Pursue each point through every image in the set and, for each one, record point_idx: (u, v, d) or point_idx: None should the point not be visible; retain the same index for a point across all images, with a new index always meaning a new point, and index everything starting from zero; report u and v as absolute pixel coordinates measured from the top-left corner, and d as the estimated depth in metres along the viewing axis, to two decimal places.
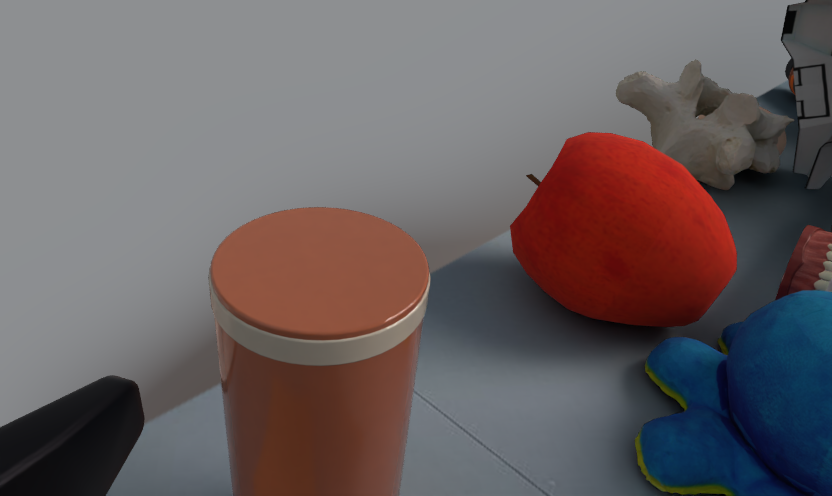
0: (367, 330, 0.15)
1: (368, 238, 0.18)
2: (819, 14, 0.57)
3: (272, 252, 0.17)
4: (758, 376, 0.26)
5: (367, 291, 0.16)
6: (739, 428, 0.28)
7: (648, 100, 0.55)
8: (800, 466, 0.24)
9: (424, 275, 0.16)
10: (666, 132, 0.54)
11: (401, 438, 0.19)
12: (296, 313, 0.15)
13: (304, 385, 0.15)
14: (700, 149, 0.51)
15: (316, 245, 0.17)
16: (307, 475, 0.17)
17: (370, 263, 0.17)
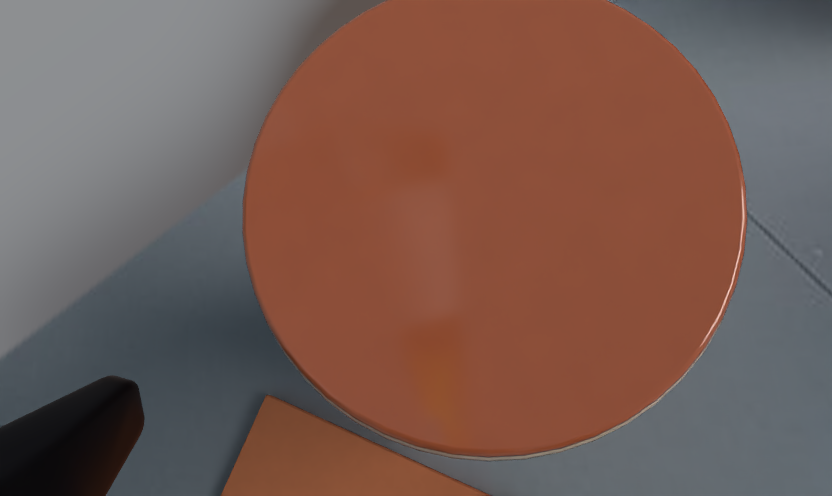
0: (589, 427, 0.07)
1: (593, 97, 0.07)
2: None
3: (368, 166, 0.07)
4: None
5: (590, 306, 0.07)
6: None
7: None
8: None
9: (735, 240, 0.07)
10: None
11: None
12: (428, 387, 0.07)
13: None
14: None
15: (467, 133, 0.07)
16: None
17: (598, 198, 0.07)
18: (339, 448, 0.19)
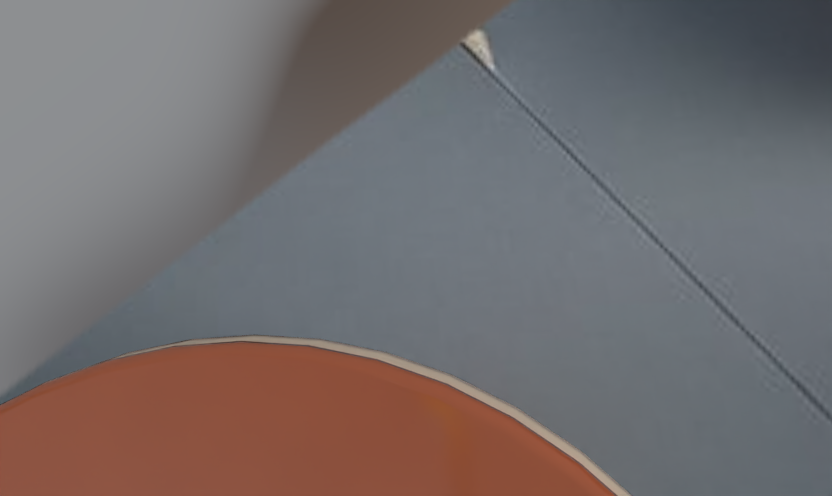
0: None
1: None
2: None
3: None
4: None
5: None
6: None
7: None
8: None
9: None
10: None
11: None
12: None
13: None
14: None
15: None
16: None
17: None
18: None
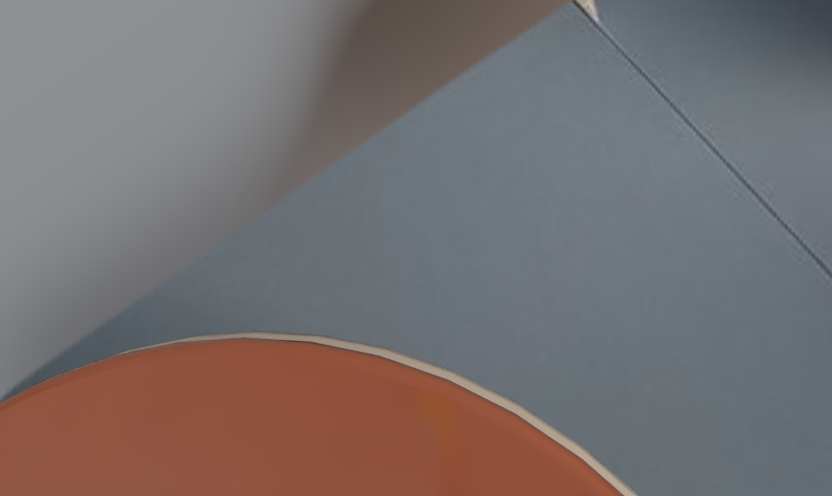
0: None
1: None
2: None
3: None
4: None
5: None
6: None
7: None
8: None
9: None
10: None
11: None
12: None
13: None
14: None
15: None
16: None
17: None
18: None
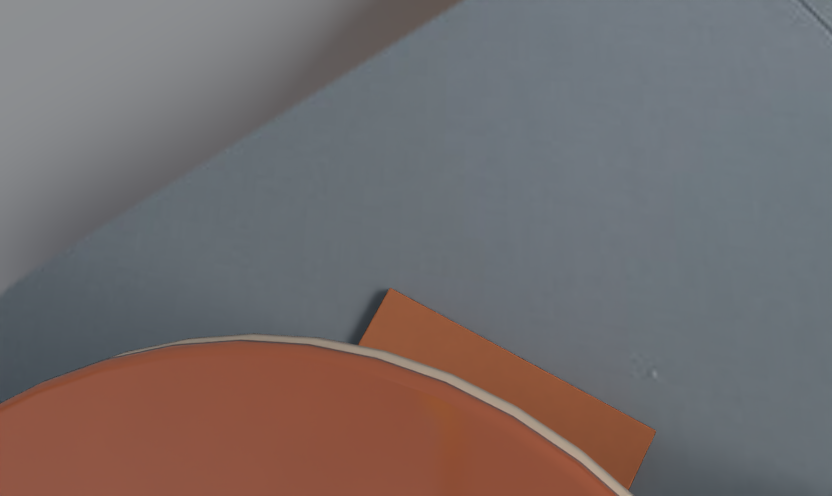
0: None
1: None
2: None
3: None
4: None
5: None
6: None
7: None
8: None
9: None
10: None
11: None
12: None
13: None
14: None
15: None
16: None
17: None
18: (467, 351, 0.17)
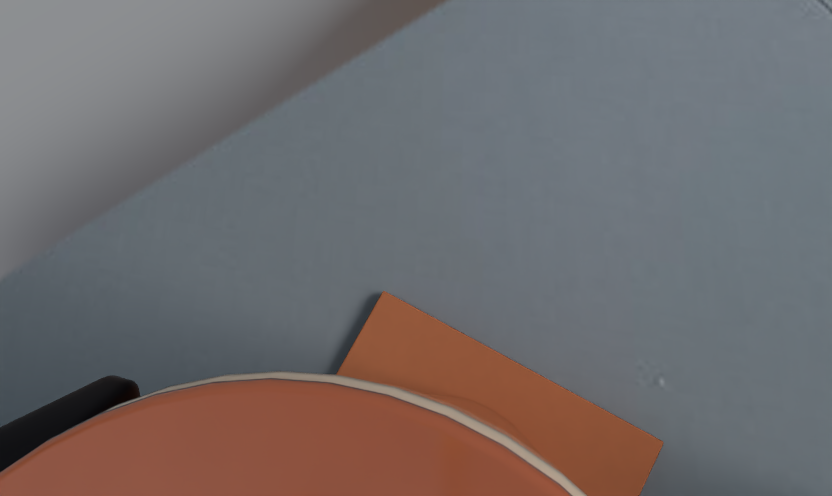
0: None
1: None
2: None
3: None
4: None
5: None
6: None
7: None
8: None
9: None
10: None
11: None
12: None
13: None
14: None
15: None
16: None
17: None
18: (464, 357, 0.17)
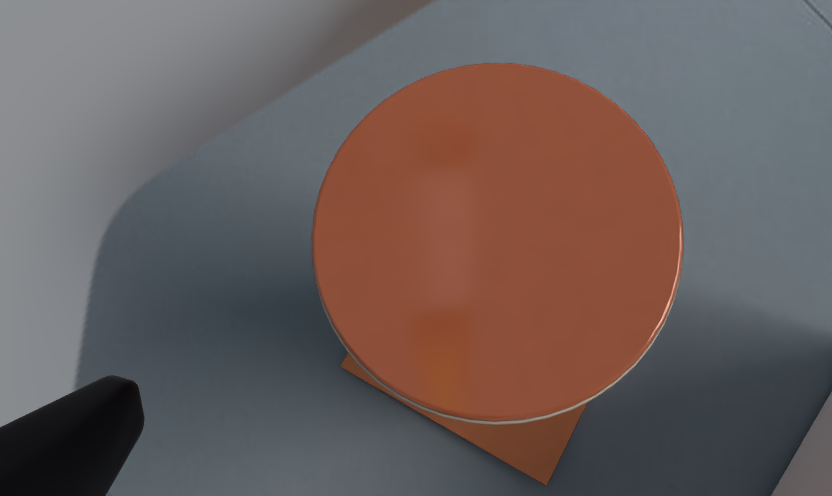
0: (567, 399, 0.09)
1: (572, 157, 0.10)
2: None
3: (406, 208, 0.10)
4: None
5: (569, 313, 0.09)
6: None
7: None
8: None
9: (674, 265, 0.09)
10: None
11: None
12: (452, 371, 0.09)
13: None
14: None
15: (479, 184, 0.10)
16: None
17: (575, 233, 0.09)
18: None
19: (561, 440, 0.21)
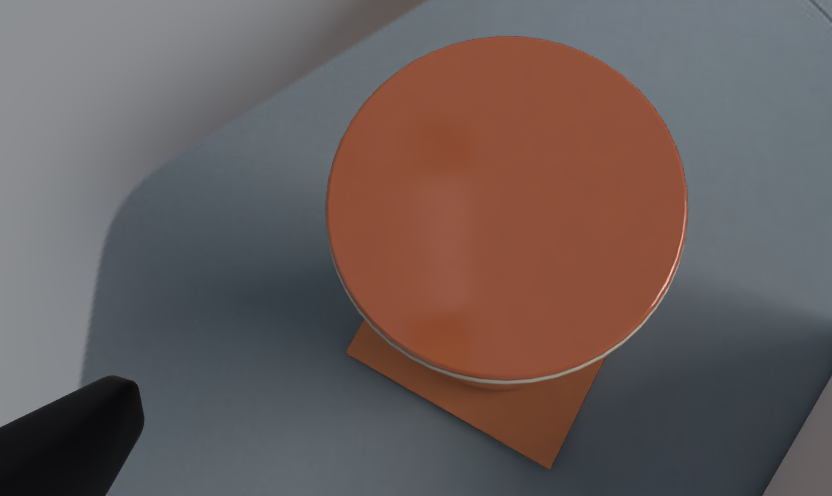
0: (575, 359, 0.09)
1: (580, 126, 0.10)
2: None
3: (417, 176, 0.10)
4: None
5: (577, 275, 0.09)
6: None
7: None
8: None
9: (679, 229, 0.09)
10: None
11: None
12: (463, 332, 0.09)
13: None
14: None
15: (489, 152, 0.10)
16: (486, 386, 0.14)
17: (583, 199, 0.10)
18: None
19: (564, 425, 0.21)
